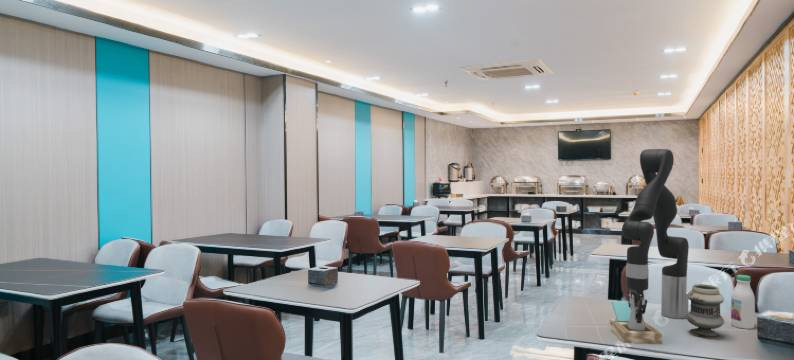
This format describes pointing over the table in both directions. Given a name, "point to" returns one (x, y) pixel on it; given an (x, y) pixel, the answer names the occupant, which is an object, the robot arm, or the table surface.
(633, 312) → the salt shaker
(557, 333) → the table surface
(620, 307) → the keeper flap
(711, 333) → the apothecary jar
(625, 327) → the socket block
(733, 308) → the milk bottle
